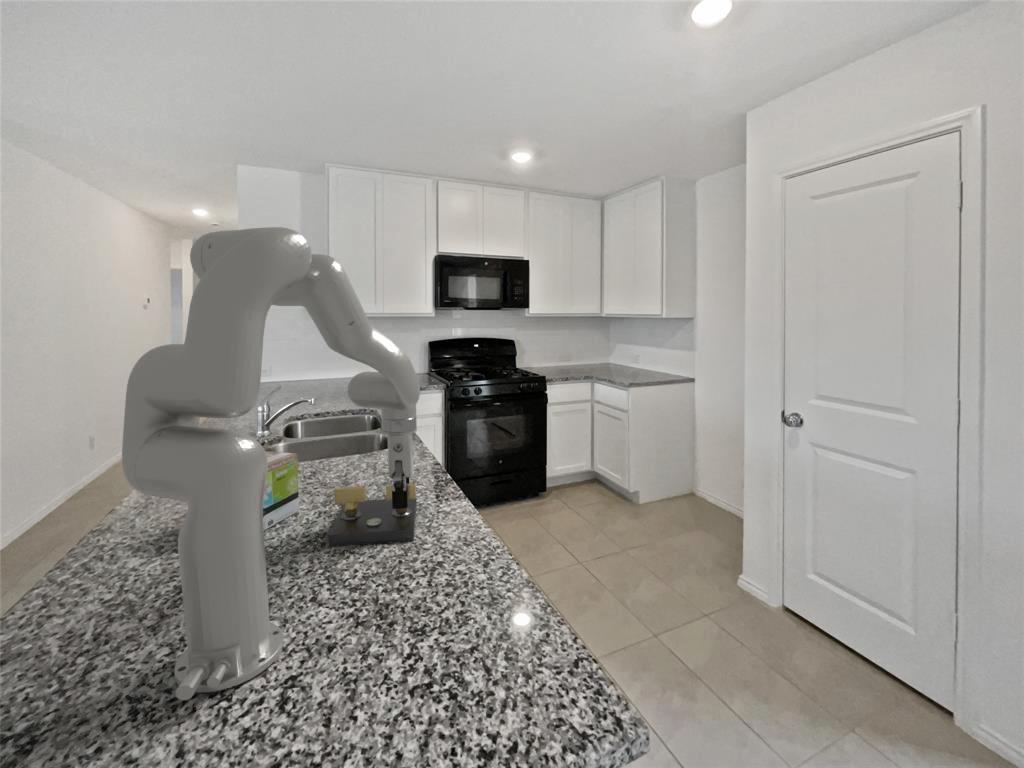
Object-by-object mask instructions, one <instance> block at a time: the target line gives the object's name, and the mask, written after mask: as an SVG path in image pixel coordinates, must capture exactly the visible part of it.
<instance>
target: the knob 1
mask: <svg viewBox="0 0 1024 768" xmlns="http://www.w3.org/2000/svg"><path fill="white" fill-rule="evenodd" d="M366 490H367V487H366V485H358V486H357V485H356V486H355V485H354V486H335V488H334V489H333V493H334V494H333V497H334V499H333V500H334V504H344V503H345V515H346V516H354V515H356V514H357V502H365V500H367V491H366Z"/></svg>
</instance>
